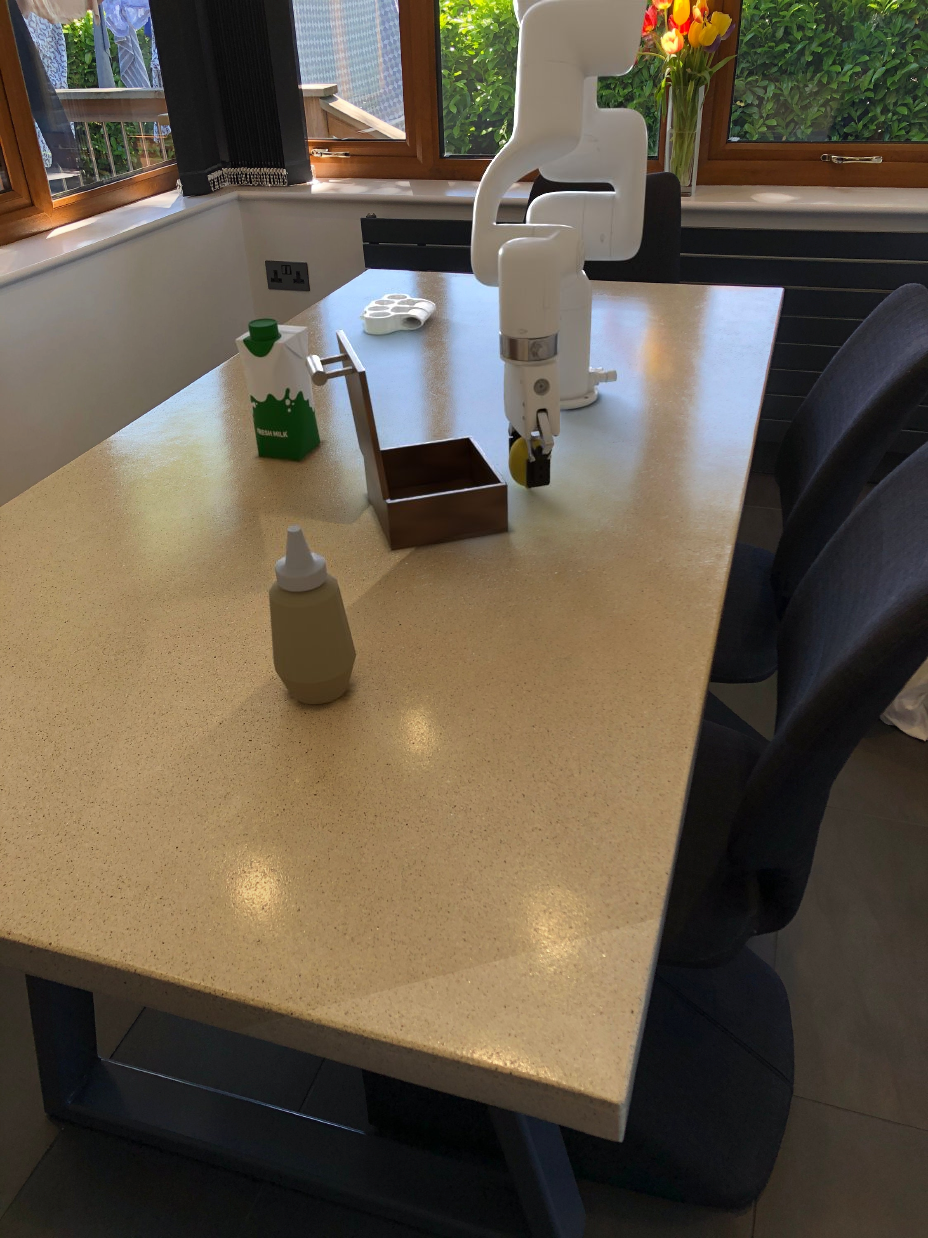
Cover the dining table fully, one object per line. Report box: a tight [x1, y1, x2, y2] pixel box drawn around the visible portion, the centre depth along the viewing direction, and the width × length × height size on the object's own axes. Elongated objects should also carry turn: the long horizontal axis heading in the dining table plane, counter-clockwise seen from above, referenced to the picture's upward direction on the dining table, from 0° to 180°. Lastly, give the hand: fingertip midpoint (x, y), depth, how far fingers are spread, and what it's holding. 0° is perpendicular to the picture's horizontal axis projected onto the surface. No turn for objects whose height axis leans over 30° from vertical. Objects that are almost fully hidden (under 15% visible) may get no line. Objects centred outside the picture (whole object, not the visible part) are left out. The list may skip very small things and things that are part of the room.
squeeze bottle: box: [268, 525, 357, 705], centre depth 87 cm, size 8×8×18 cm
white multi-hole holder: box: [357, 293, 437, 336], centre depth 193 cm, size 3×18×15 cm
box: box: [363, 435, 509, 552], centre depth 120 cm, size 15×16×7 cm
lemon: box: [508, 434, 541, 490], centre depth 125 cm, size 6×6×8 cm
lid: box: [305, 329, 390, 500], centre depth 112 cm, size 16×16×6 cm
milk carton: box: [234, 317, 322, 462], centre depth 136 cm, size 9×9×20 cm
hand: (529, 473), depth 126 cm, fingers open, 6 cm apart
